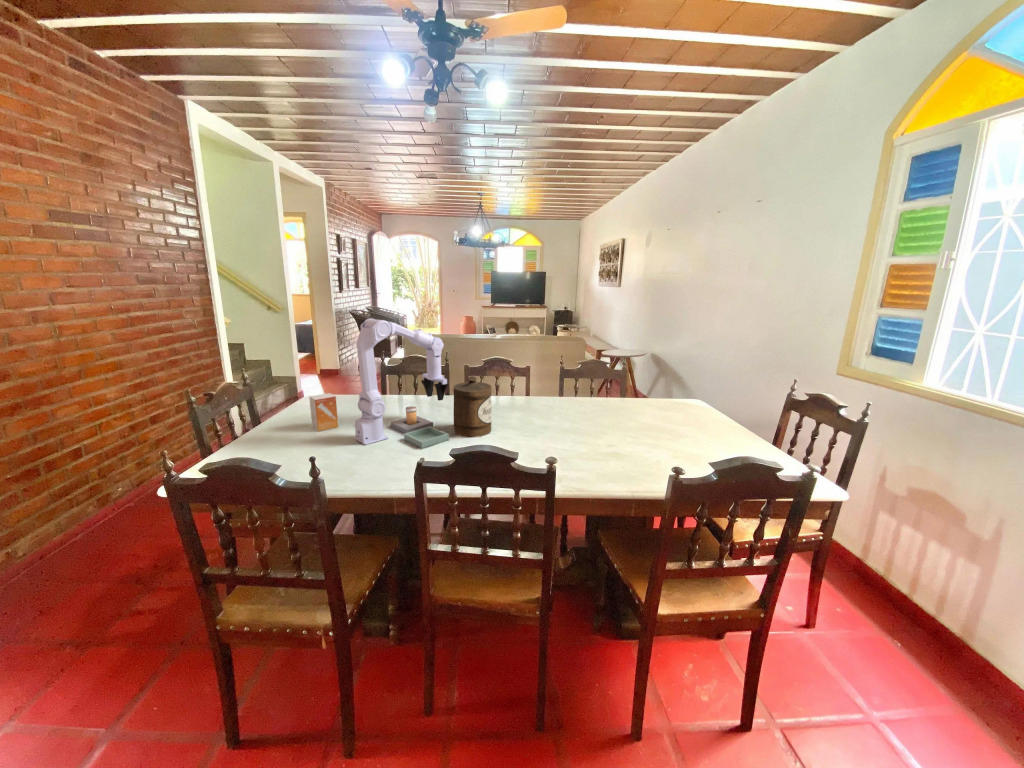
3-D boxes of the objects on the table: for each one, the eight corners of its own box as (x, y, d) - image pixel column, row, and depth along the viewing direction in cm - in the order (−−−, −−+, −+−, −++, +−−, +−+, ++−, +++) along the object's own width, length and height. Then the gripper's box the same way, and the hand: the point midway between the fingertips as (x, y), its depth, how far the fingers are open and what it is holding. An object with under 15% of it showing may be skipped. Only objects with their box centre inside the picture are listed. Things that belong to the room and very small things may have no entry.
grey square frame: (407, 434, 158) (406, 429, 157) (390, 426, 166) (390, 422, 165) (433, 427, 166) (432, 422, 165) (416, 419, 174) (416, 415, 174)
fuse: (410, 429, 163) (409, 410, 161) (404, 426, 166) (403, 407, 164) (419, 427, 166) (418, 408, 164) (413, 424, 169) (412, 405, 167)
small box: (318, 432, 159) (314, 399, 156) (312, 427, 163) (308, 396, 160) (339, 427, 164) (336, 395, 161) (332, 423, 169) (329, 392, 166)
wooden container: (490, 437, 156) (490, 381, 150) (451, 437, 156) (450, 380, 150) (492, 424, 170) (492, 372, 165) (456, 424, 170) (455, 372, 165)
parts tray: (422, 449, 144) (421, 442, 144) (404, 440, 152) (403, 433, 151) (448, 440, 152) (448, 434, 152) (430, 432, 160) (430, 426, 160)
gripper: (452, 367, 165) (453, 399, 168) (431, 362, 175) (432, 392, 178) (438, 369, 160) (439, 403, 163) (417, 364, 170) (418, 396, 173)
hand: (435, 398), depth 170 cm, fingers open, 7 cm apart
